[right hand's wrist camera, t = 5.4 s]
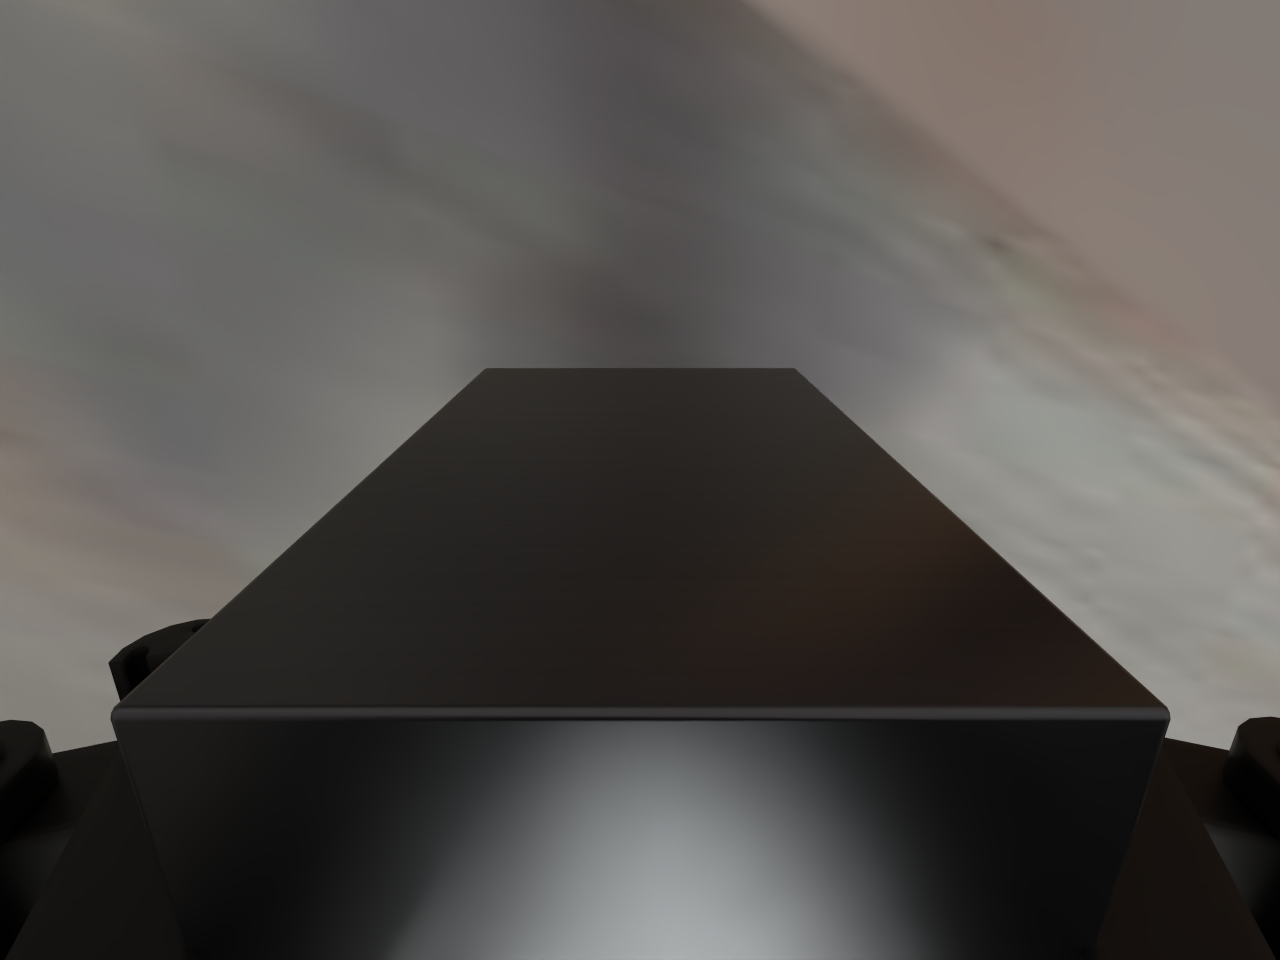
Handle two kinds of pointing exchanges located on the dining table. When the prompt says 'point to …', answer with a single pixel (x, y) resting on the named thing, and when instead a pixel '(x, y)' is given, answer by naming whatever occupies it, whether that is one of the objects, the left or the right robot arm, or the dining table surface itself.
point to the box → (640, 704)
